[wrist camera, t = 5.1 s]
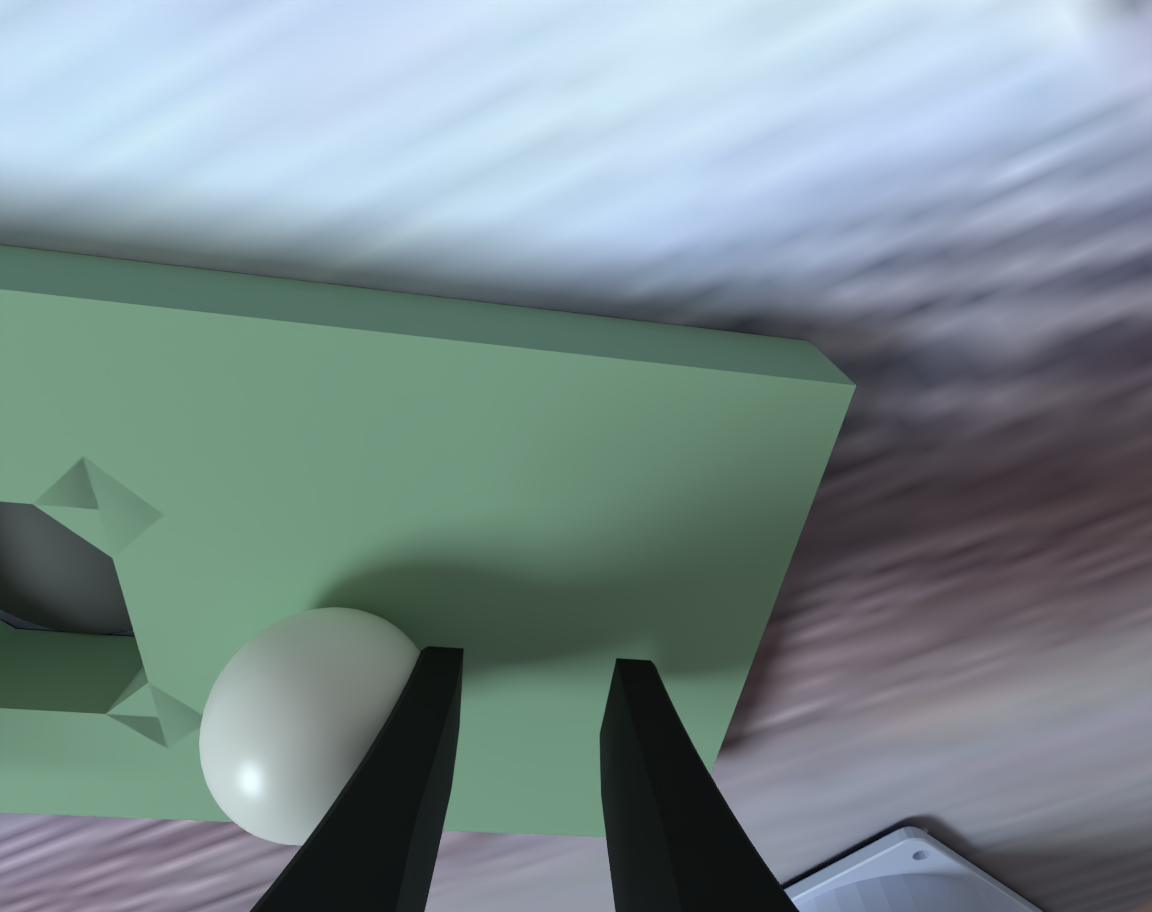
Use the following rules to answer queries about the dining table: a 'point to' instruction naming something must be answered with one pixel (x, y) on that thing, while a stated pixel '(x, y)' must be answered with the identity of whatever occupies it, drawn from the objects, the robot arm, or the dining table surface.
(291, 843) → the golf ball
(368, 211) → the dining table surface
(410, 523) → the putting mat
